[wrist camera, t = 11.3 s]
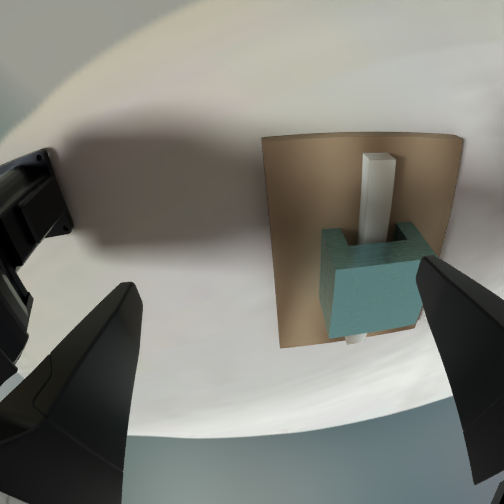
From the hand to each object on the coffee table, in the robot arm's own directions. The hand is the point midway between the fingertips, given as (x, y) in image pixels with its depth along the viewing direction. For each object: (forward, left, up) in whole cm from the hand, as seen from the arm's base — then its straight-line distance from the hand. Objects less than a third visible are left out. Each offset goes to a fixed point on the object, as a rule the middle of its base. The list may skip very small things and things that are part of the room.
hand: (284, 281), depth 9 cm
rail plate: (+6, -8, -11) cm, 15 cm away
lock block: (+6, -8, -10) cm, 14 cm away
